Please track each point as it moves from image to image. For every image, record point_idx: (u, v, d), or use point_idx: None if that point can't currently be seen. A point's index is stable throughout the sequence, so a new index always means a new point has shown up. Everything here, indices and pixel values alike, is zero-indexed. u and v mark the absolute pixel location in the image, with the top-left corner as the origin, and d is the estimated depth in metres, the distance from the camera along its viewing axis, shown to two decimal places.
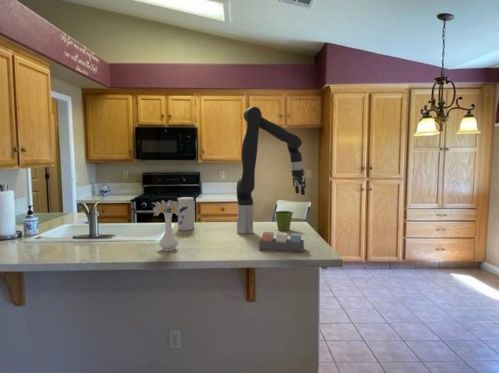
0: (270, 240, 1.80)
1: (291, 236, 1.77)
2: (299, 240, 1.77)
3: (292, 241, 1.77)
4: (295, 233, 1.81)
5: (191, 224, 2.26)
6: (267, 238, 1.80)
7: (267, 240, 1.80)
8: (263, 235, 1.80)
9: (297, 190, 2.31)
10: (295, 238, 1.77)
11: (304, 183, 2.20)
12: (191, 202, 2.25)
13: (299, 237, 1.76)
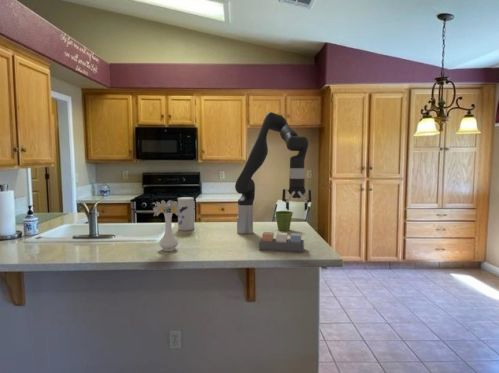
0: (270, 240, 1.80)
1: (291, 236, 1.77)
2: (299, 240, 1.77)
3: (292, 241, 1.77)
4: (295, 233, 1.81)
5: (191, 224, 2.26)
6: (267, 238, 1.80)
7: (267, 240, 1.80)
8: (263, 235, 1.80)
9: None
10: (295, 238, 1.77)
11: (282, 195, 1.78)
12: (191, 202, 2.25)
13: (299, 237, 1.76)
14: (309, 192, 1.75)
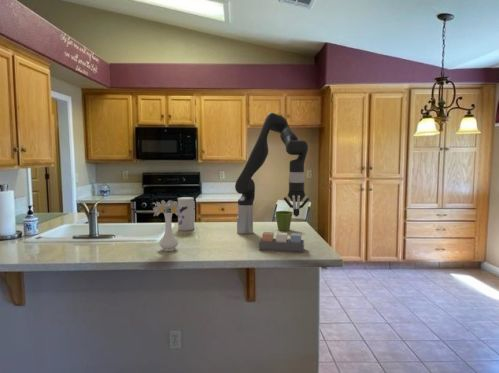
0: (270, 240, 1.80)
1: (291, 236, 1.77)
2: (299, 240, 1.77)
3: (292, 241, 1.77)
4: (295, 233, 1.81)
5: (191, 224, 2.26)
6: (267, 238, 1.80)
7: (267, 240, 1.80)
8: (263, 235, 1.80)
9: None
10: (295, 238, 1.77)
11: (287, 203, 1.78)
12: (191, 202, 2.25)
13: (299, 237, 1.76)
14: (306, 200, 1.75)
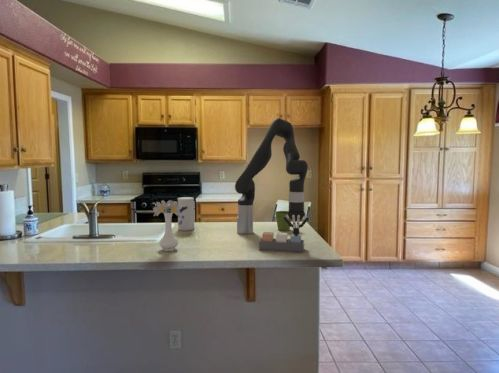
0: (270, 240, 1.80)
1: (291, 237, 1.77)
2: (299, 241, 1.77)
3: (292, 242, 1.77)
4: None
5: (191, 224, 2.26)
6: (267, 238, 1.80)
7: (267, 240, 1.80)
8: (263, 235, 1.80)
9: None
10: (295, 239, 1.77)
11: (287, 222, 1.79)
12: (191, 202, 2.25)
13: (299, 238, 1.77)
14: (306, 219, 1.76)
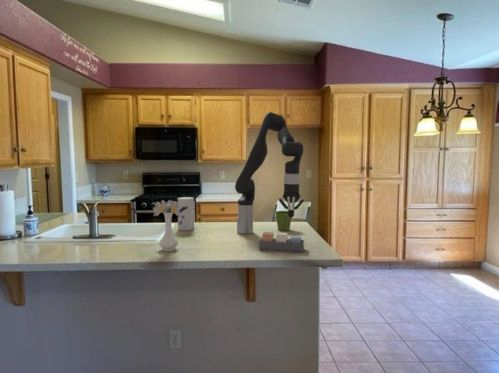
0: (270, 240, 1.80)
1: (291, 239, 1.77)
2: None
3: None
4: (295, 236, 1.82)
5: (191, 224, 2.26)
6: (267, 238, 1.80)
7: (267, 240, 1.80)
8: (263, 235, 1.80)
9: None
10: (295, 241, 1.77)
11: (282, 204, 1.79)
12: (191, 202, 2.25)
13: (299, 240, 1.77)
14: (301, 201, 1.76)
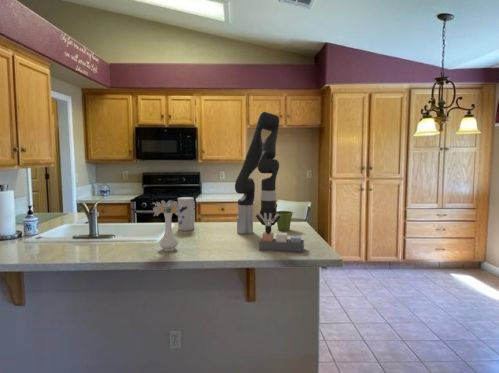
0: (270, 240, 1.80)
1: (291, 239, 1.77)
2: None
3: None
4: (295, 236, 1.82)
5: (191, 224, 2.26)
6: (267, 238, 1.80)
7: (267, 240, 1.80)
8: (263, 235, 1.80)
9: None
10: (295, 241, 1.77)
11: (259, 220, 1.82)
12: (191, 202, 2.25)
13: (299, 240, 1.77)
14: (278, 217, 1.79)
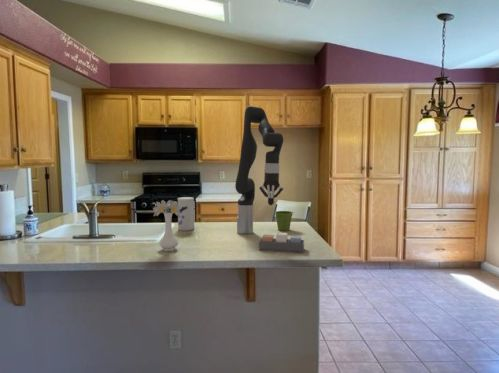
0: None
1: (291, 239, 1.77)
2: None
3: None
4: (295, 236, 1.82)
5: (191, 224, 2.26)
6: (267, 240, 1.80)
7: None
8: (263, 238, 1.80)
9: None
10: (295, 241, 1.77)
11: (262, 192, 1.88)
12: (191, 202, 2.25)
13: (299, 240, 1.77)
14: (280, 190, 1.85)
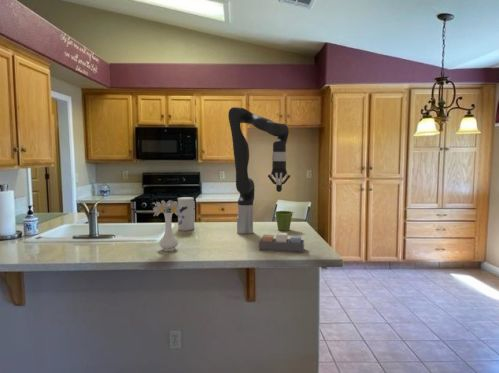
0: None
1: (291, 239, 1.77)
2: None
3: None
4: (295, 236, 1.82)
5: (191, 224, 2.26)
6: (267, 240, 1.80)
7: None
8: (263, 238, 1.80)
9: None
10: (295, 241, 1.77)
11: None
12: (191, 202, 2.25)
13: (299, 240, 1.77)
14: (288, 177, 1.96)
